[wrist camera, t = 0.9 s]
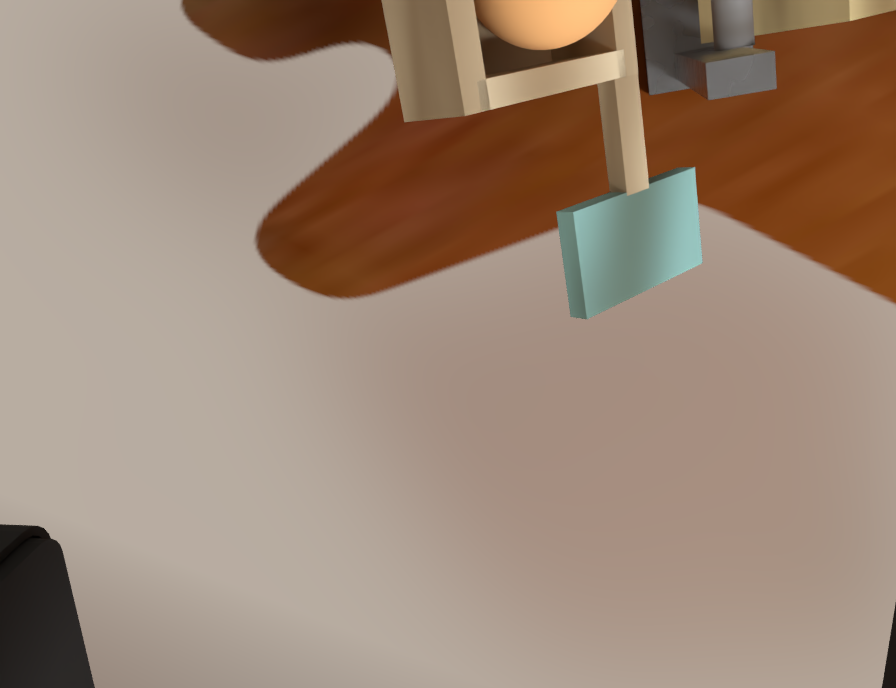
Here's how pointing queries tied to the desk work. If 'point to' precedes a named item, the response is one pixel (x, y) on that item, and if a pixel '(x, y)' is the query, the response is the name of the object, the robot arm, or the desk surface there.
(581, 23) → the ball
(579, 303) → the lever
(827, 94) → the desk surface
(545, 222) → the desk surface
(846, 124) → the desk surface
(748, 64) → the pivot stand
